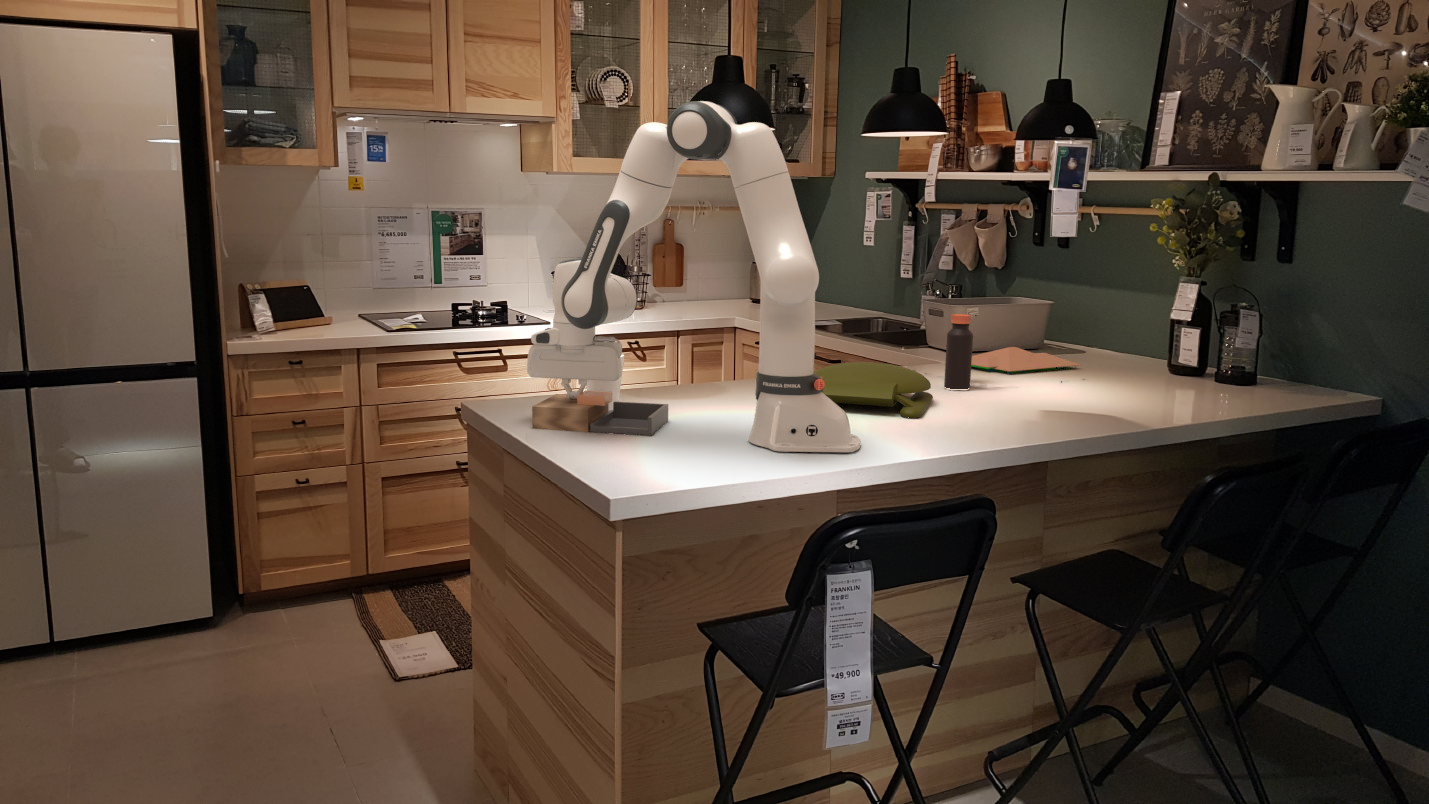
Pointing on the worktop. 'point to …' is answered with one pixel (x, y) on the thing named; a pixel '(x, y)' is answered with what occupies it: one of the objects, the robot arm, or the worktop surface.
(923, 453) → the worktop surface
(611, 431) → the box
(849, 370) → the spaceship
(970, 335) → the bottle
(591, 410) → the walnut platform
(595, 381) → the foam cup
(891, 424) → the worktop surface
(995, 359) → the tan and green mat
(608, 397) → the terracotta tile
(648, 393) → the worktop surface
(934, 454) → the worktop surface
